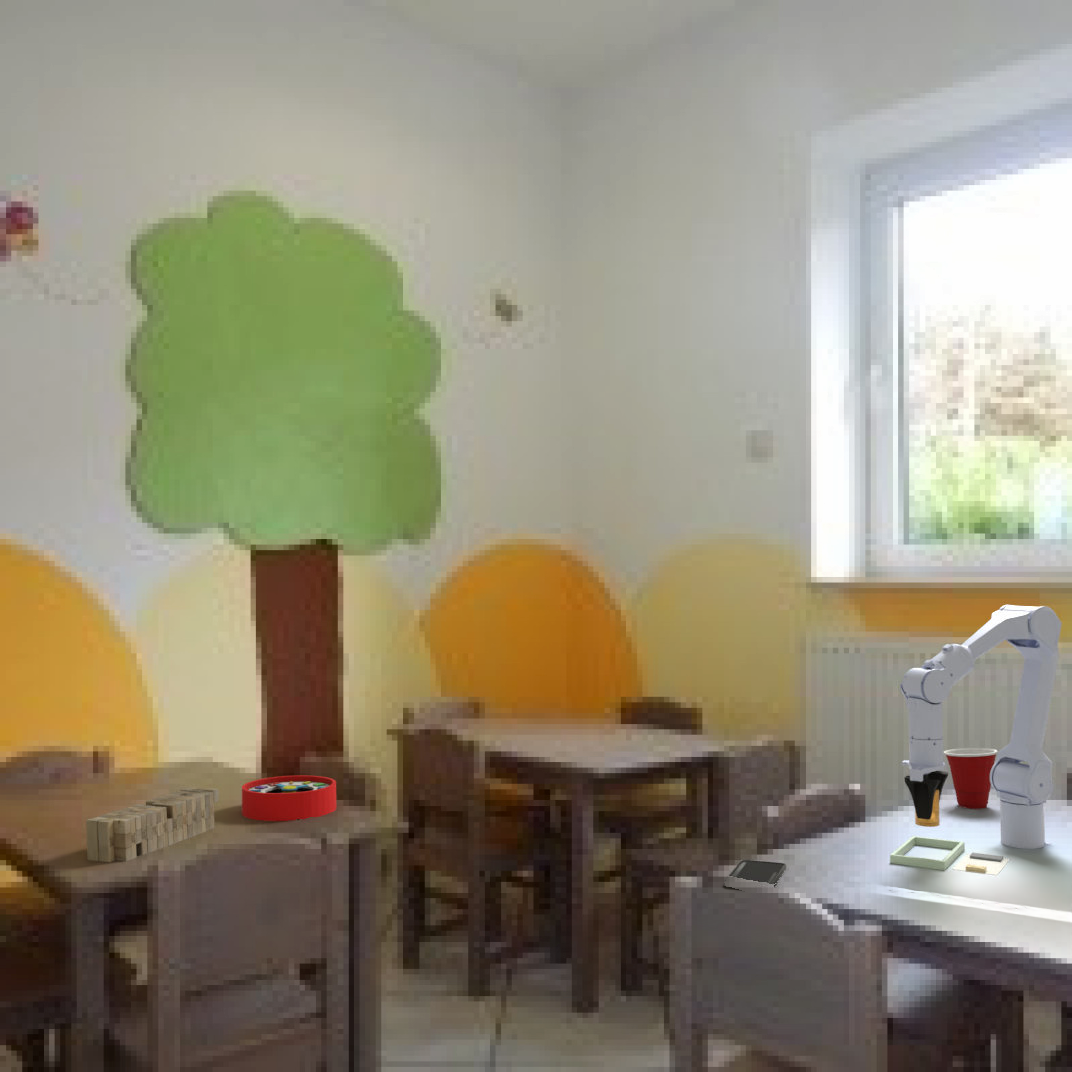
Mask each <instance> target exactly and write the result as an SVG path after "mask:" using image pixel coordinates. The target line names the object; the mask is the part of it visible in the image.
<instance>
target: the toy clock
mask: <svg viewBox="0 0 1072 1072" xmlns="http://www.w3.org/2000/svg"><path fill="white" fill-rule="evenodd" d="M336 810H337V781H336V780H335V779H333V778H331V777H327V776H320V775H318V776H317V775H301V774H300V775H282V776H273V777H271V776H270V777H266V778H259V779H255V780H251V781H248V782H246V783H244V784H243V785H242V786H241V815H242V816H243V817H245V818H246V819H247V818H248V819H251V820H256V821H264V822H289V821H290V820H291V821H297V820H296V819H302V820H307V819H306V818H309V817H315V818H318V817H322V815H323V816H326V814H327V815H329V814H332V813H334V812H335V811H336ZM331 812H332V813H331ZM328 813H329V814H328ZM309 819H310V818H309Z"/></svg>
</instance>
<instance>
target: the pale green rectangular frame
mask: <svg viewBox="0 0 1072 1072" xmlns="http://www.w3.org/2000/svg"><path fill="white" fill-rule="evenodd" d="M915 845H917V846H925V847H933V848H940V849H948V850H949V849H950V850H951V851H950V852H949V853H948V854H947V855H946V856H945V857H944V858H942V860H939V859H933V858H926V857H917V856H909V855H905V854H906V853H907V852H908V851H910V850H911V849H912V848H913V847H914V846H915ZM963 852H965V841H958V840H952V839H949V840H948V839H942V838H936V837H935V838H932V837H925V836H917V835H916V836H915V835H912V836H910V838H908V839H907V840H906V841H905V842H903V844H901V845H900V846H899V847H897V848H896V849H895V850H894V851H893V852H892V853H891V854H889V863H891V864H894V865H895V864H896V865H897V864H898V865H904V866H910V867H911V866H912V867H919V868H926V869H933V870H941V871H942V870H943V871H946V870H947V868H948V867H949V866H950V865H951V864H952V863H954V862H955V860H956V859H958V858H959V857H960V855H962V853H963Z"/></svg>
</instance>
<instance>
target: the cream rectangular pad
mask: <svg viewBox="0 0 1072 1072" xmlns="http://www.w3.org/2000/svg"><path fill="white" fill-rule="evenodd" d="M1009 861H1010V859H1009V858H1004V856H1003V855H995V854H989V853H987V854H986V853H980V852H979V853H978V852H971V853H966V854H965V855H964V856H963V857H962V858H961V859H960V861H959V862H958V863H957V864H956V865H955V866H954V867H953V868H952V870H954V871H962V872H963V871H964V872H970V873H978V874H985V875H992V876H998V875H999V874H1000V872H1001V871H1002V870H1003V869H1004V868H1005V866H1006V865H1007V863H1009Z"/></svg>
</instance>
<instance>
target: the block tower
mask: <svg viewBox="0 0 1072 1072" xmlns="http://www.w3.org/2000/svg"><path fill="white" fill-rule="evenodd" d="M217 802H219V789H218V788H211V787H210V788H209V787H208V788H206V787H186V788H184V787H183V788H181V789H180V790H177V791H175V792H172V793H169V794H165V795H162V796H158V797H155V798H152V799H148V800H146V801H145V805H144V804H134V805H131V806H128V807H125V808H122V809H119V810H113V811H111V812H108V813H105V814H101V815H98V816H96V817H94V818H87V819H86V820H85V825H86V826H85V829H86V848H87V849H86V851H87V852H86V853H87V855H86V856H87V860H88V861H94V862H96V861H97V862H105V863H112V862H113V861H120V862H128V861H130V860H132V859H135V858H137V856H143V855H146V854H147V855H148V854H149V853H152V852H155V851H158V850H160V849H163V848H166V847H168V846H171V845H174V844H176V843H179V842H181V841H184V840H186V839H190V838H192V837H196V836H198V835H200V834H203V833H205V832H208V831H211V830H213V829H215V806H214V804H215V803H217Z"/></svg>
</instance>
